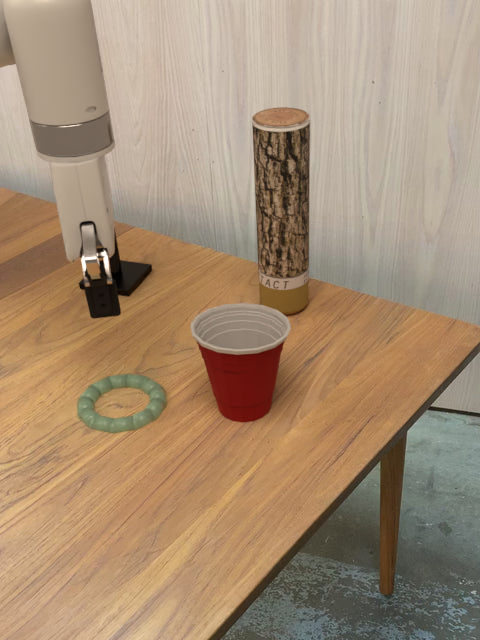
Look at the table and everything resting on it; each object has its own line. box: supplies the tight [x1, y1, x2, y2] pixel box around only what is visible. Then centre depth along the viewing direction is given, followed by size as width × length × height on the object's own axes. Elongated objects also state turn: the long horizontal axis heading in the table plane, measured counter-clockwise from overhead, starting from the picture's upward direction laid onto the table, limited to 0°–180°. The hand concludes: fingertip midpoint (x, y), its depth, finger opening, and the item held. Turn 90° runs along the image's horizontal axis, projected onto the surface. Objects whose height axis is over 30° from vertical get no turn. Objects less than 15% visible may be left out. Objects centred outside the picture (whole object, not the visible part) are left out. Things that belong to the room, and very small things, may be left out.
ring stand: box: [78, 226, 153, 297], centre depth 111 cm, size 8×8×11 cm
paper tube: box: [251, 106, 311, 316], centre depth 100 cm, size 7×7×25 cm
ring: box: [76, 372, 168, 434], centre depth 91 cm, size 10×10×2 cm
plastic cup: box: [190, 302, 292, 423], centre depth 87 cm, size 11×11×12 cm
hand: (105, 293), depth 86 cm, fingers open, 9 cm apart
